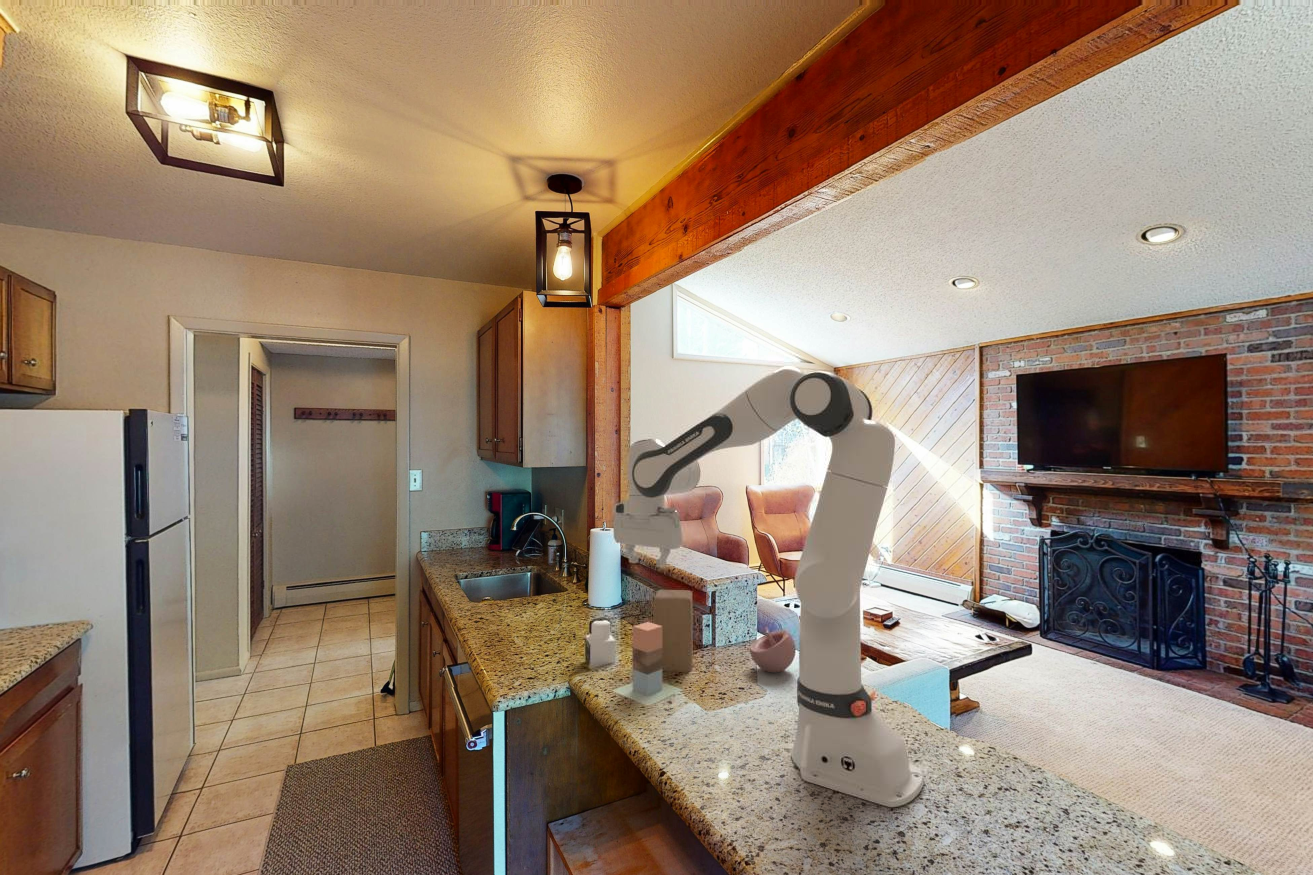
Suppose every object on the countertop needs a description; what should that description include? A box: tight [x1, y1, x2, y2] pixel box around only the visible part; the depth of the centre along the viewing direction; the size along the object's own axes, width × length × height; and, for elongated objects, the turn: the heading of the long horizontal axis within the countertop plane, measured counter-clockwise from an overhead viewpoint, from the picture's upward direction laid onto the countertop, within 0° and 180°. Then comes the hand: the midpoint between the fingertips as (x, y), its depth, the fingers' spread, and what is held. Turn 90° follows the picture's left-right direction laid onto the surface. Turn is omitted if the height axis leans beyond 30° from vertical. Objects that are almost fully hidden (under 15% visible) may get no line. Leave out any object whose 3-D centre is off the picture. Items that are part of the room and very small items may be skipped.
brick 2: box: [632, 647, 662, 675], centre depth 132 cm, size 5×5×5 cm
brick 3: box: [632, 669, 663, 697], centre depth 132 cm, size 5×5×5 cm
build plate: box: [611, 681, 683, 707], centre depth 132 cm, size 12×12×1 cm
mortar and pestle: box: [748, 626, 796, 673], centre depth 148 cm, size 12×12×12 cm
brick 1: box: [632, 621, 662, 653], centre depth 132 cm, size 5×5×5 cm
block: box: [652, 589, 694, 673], centre depth 149 cm, size 10×10×20 cm
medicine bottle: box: [584, 617, 616, 670], centre depth 153 cm, size 7×7×12 cm
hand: (647, 564), depth 133 cm, fingers open, 8 cm apart
